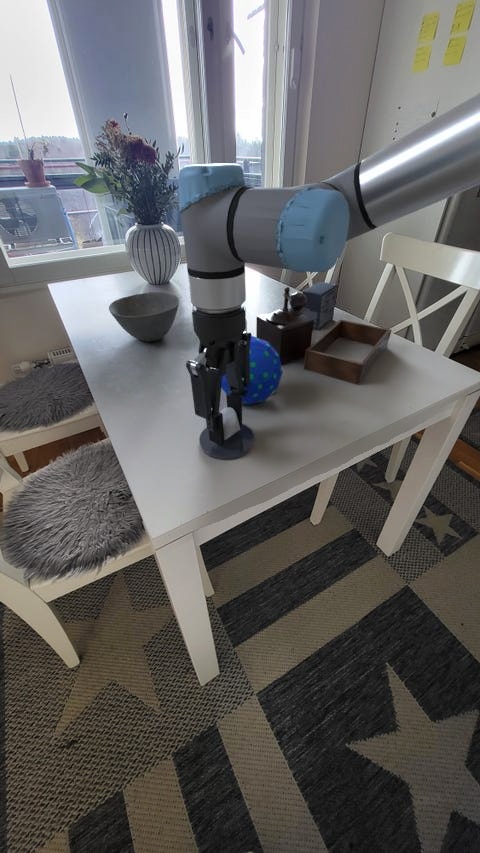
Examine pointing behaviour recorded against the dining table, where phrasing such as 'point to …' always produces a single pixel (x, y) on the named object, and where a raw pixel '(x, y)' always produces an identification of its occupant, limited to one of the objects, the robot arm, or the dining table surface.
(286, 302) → the pepper mill
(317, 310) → the small box
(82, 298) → the dining table surface
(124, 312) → the bowl
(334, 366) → the open box
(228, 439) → the coaster
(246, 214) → the robot arm
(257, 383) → the blue polka dot ball
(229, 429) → the gemstone
